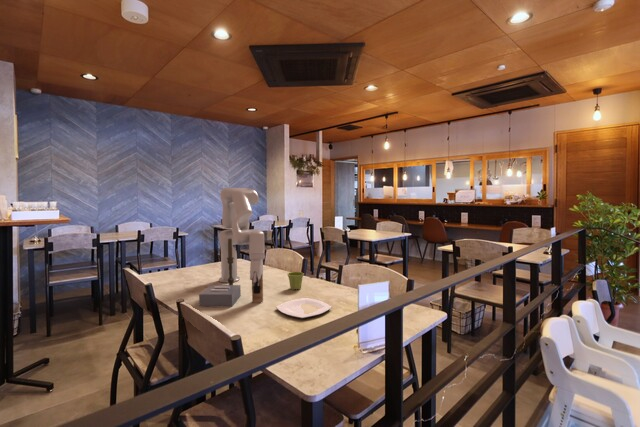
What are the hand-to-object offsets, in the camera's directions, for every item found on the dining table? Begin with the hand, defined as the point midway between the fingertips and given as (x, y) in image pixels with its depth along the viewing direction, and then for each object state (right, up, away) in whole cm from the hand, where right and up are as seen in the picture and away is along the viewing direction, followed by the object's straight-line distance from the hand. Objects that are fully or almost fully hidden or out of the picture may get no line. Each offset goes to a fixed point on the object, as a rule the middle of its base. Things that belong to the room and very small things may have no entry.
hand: (257, 291), depth 170 cm
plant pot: (+17, -4, +23) cm, 29 cm away
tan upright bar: (0, -5, 0) cm, 5 cm away
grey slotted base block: (-19, -5, +2) cm, 20 cm away
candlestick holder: (-19, -4, +20) cm, 27 cm away
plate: (+24, -7, -11) cm, 27 cm away
